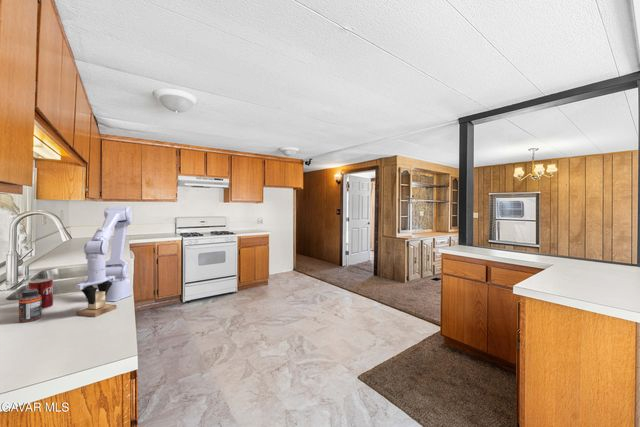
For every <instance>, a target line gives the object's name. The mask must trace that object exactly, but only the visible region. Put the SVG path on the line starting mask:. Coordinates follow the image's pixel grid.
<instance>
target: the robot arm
mask: <svg viewBox="0 0 640 427" xmlns="http://www.w3.org/2000/svg"><path fill="white" fill-rule="evenodd" d="M103 216H104V218H105V219H104V221H103V224H102V226H101V227H98V228H97V229H96V231H95V233H93V236H92V238H91V239H90V240H88V241H86V243H85V244H84V247H83V254H84V255H85V260H87V280H86V281H84V282H81V283H77V284H76V285H75V290H77V291H81V292H82V293H83V295H84V296H85V299H86V300H87V305H88V304H94V303H95V293H96V291H104V292H105V302H118V301H119V300H123V299H126V298H128V297H131V296H132V295H133V294H132V290H131V289H132V288H131V287H132V286H131V279H130V278H128V277H129V275H130V264H129V262H128V261H126V260H125V259H124V252H125V243H126V236H127V230H128V226H130V225H131V224H132V221H133V220H132V219H133V210H132V208H131V207H130V206H106V207H105V208H104V211H103ZM113 228H114V229H113ZM112 230H113V231H112ZM111 238H112V243H111V244H112V245H111V250H110V256H109V259H108V260H107V261H106V254H107V253H108V251H109V246H110V240H111ZM94 286H97V287H94Z"/></svg>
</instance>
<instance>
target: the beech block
mask: <svg viewBox="0 0 640 427" xmlns="http://www.w3.org/2000/svg"><path fill="white" fill-rule="evenodd" d="M105 304H106V301H105V292H104V291H99V290H96V293H95V303H94V304H88V303H87V308H88V309H98V308H101V307H103V306H105Z"/></svg>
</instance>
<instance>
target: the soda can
mask: <svg viewBox="0 0 640 427" xmlns="http://www.w3.org/2000/svg"><path fill="white" fill-rule="evenodd" d="M27 285H28V286H27V288H28V289H27V290H31V289H37V290H38V293H37V294H39V295H41V299H42V311H44V310H47V309H50V308H52V307H53V305H54V280H53V279H52V278H39V279H34V280H31V281H29V282H28V283H27Z"/></svg>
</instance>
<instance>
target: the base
mask: <svg viewBox="0 0 640 427" xmlns="http://www.w3.org/2000/svg"><path fill="white" fill-rule="evenodd" d="M116 309H117V304H107V303H105V306H103V307H101V308H98V309H88V307H85V308H83V309H80V310H77V311H76V316H80V317H90V318H91V317H92V318H96V317H98V316H102V315H104V314H107V313H109V312H111V311H114V310H116Z"/></svg>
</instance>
